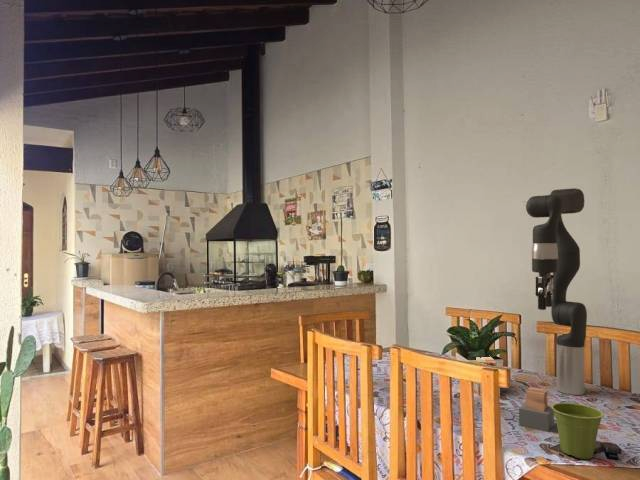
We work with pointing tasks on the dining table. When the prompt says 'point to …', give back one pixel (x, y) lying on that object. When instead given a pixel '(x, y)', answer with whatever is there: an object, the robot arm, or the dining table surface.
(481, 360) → the stack of blocks
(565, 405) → the plant pot
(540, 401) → the terracotta cube
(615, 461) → the dining table surface
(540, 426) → the grey base block
